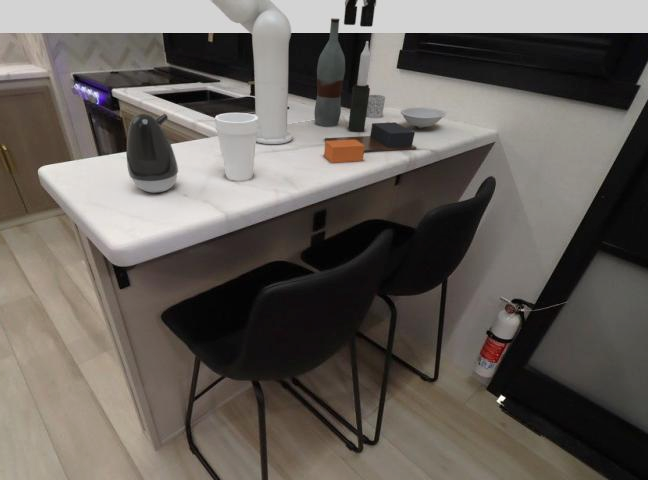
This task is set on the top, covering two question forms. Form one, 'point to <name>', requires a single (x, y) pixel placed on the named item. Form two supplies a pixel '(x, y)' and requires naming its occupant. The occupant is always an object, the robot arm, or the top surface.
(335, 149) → the loose pad
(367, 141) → the board
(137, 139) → the pump dispenser
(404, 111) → the dish
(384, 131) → the back pad
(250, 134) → the foam cup
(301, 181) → the top surface
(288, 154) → the top surface
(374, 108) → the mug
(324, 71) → the bottle
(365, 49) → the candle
